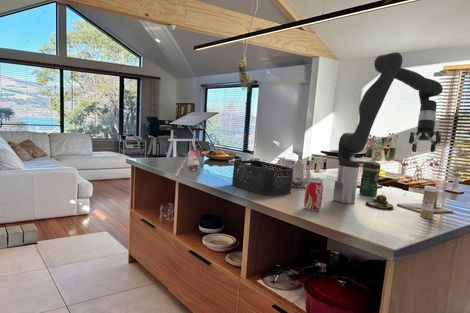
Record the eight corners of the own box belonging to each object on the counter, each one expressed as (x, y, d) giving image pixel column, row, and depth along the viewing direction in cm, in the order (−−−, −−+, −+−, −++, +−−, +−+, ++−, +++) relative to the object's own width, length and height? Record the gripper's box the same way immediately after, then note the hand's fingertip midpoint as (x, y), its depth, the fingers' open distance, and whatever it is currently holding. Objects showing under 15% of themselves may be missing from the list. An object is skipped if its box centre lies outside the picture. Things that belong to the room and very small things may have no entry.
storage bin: (293, 194, 166) (296, 168, 165) (267, 197, 154) (270, 169, 152) (254, 183, 188) (256, 160, 186) (229, 185, 175) (231, 160, 174)
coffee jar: (370, 197, 175) (375, 162, 173) (357, 193, 181) (361, 160, 179) (379, 195, 181) (383, 162, 179) (365, 192, 187) (369, 160, 185)
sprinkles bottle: (419, 217, 139) (423, 186, 138) (421, 215, 142) (425, 185, 141) (431, 219, 136) (436, 188, 135) (433, 217, 139) (437, 187, 138)
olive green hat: (360, 204, 156) (362, 188, 155) (378, 203, 161) (380, 188, 160) (380, 211, 145) (382, 194, 144) (399, 210, 150) (401, 194, 149)
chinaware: (326, 190, 192) (330, 162, 192) (317, 191, 178) (322, 161, 178) (282, 182, 207) (286, 156, 207) (271, 182, 193) (275, 155, 193)
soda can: (311, 211, 132) (314, 182, 131) (299, 207, 138) (302, 179, 137) (324, 211, 135) (327, 182, 134) (312, 206, 141) (315, 179, 140)
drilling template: (422, 213, 145) (425, 194, 144) (396, 205, 158) (399, 187, 157) (453, 212, 153) (455, 194, 152) (426, 205, 166) (428, 187, 165)
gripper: (408, 120, 170) (405, 150, 168) (438, 117, 158) (434, 150, 156) (415, 123, 174) (412, 153, 172) (445, 121, 162) (441, 153, 160)
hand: (423, 152), depth 164 cm, fingers open, 8 cm apart
